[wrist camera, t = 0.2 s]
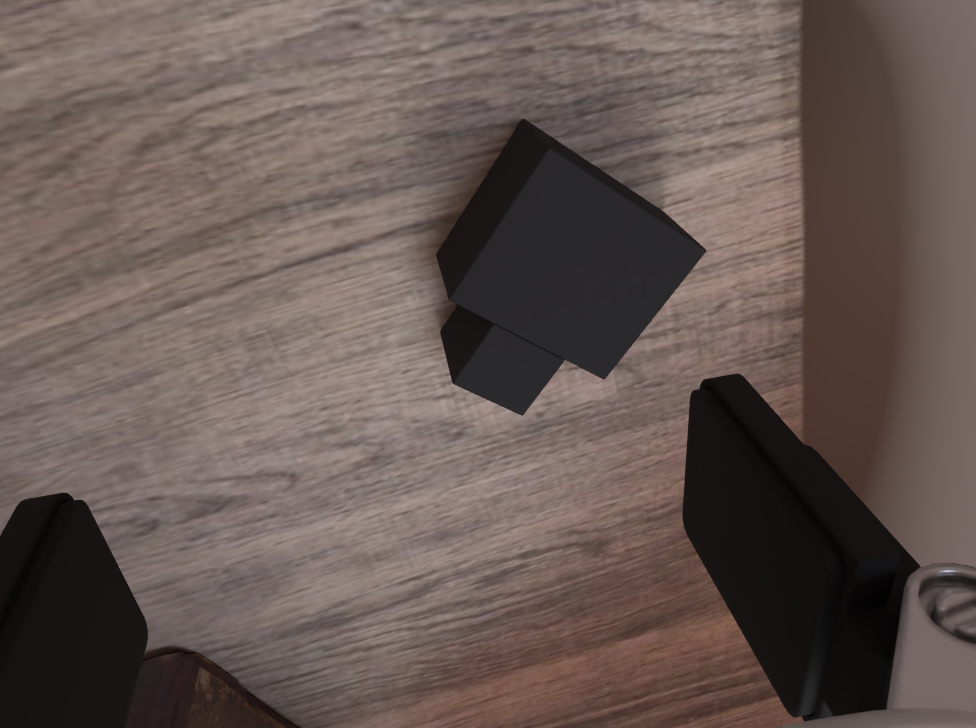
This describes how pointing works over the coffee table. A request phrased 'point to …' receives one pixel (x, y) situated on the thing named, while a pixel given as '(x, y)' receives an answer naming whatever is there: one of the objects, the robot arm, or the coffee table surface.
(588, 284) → the pad
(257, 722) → the book
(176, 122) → the coffee table surface
